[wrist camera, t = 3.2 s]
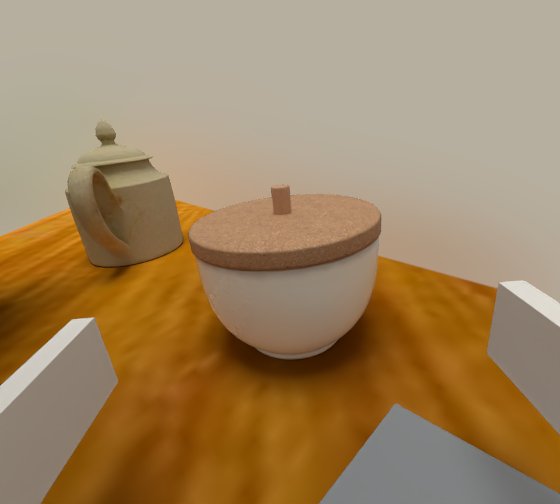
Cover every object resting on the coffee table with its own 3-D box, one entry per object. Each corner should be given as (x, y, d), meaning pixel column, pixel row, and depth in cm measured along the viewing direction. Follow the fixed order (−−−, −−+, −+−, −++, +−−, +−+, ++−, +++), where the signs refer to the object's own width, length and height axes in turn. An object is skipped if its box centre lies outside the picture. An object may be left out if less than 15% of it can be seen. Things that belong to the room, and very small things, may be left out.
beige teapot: (209, 255, 35) (180, 107, 30) (100, 290, 30) (37, 116, 24) (169, 229, 47) (142, 119, 41) (85, 251, 41) (40, 127, 36)
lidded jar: (343, 423, 14) (335, 219, 11) (177, 356, 20) (135, 207, 16) (397, 303, 22) (402, 167, 19) (270, 280, 28) (256, 171, 24)
